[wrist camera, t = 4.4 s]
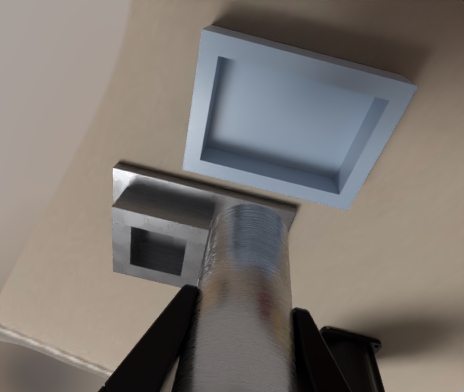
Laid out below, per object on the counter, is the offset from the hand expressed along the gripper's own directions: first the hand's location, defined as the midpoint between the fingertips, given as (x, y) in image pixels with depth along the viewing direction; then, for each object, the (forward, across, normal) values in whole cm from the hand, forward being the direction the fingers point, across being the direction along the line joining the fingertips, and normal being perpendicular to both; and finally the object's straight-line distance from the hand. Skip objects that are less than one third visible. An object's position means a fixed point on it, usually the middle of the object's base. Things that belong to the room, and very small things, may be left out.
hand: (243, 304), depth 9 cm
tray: (+13, -1, -1) cm, 13 cm away
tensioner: (+13, +3, +10) cm, 17 cm away
